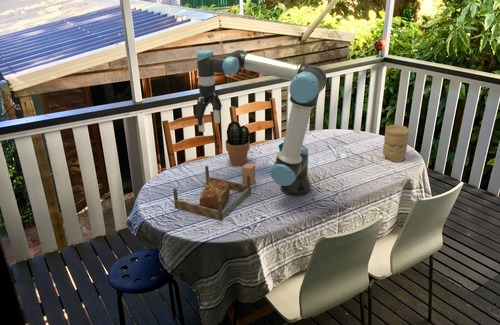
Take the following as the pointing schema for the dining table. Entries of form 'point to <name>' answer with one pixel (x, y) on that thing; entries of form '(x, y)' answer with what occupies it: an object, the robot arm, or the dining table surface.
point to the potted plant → (237, 143)
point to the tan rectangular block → (248, 173)
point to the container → (395, 142)
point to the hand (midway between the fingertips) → (209, 126)
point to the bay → (218, 213)
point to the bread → (215, 194)
